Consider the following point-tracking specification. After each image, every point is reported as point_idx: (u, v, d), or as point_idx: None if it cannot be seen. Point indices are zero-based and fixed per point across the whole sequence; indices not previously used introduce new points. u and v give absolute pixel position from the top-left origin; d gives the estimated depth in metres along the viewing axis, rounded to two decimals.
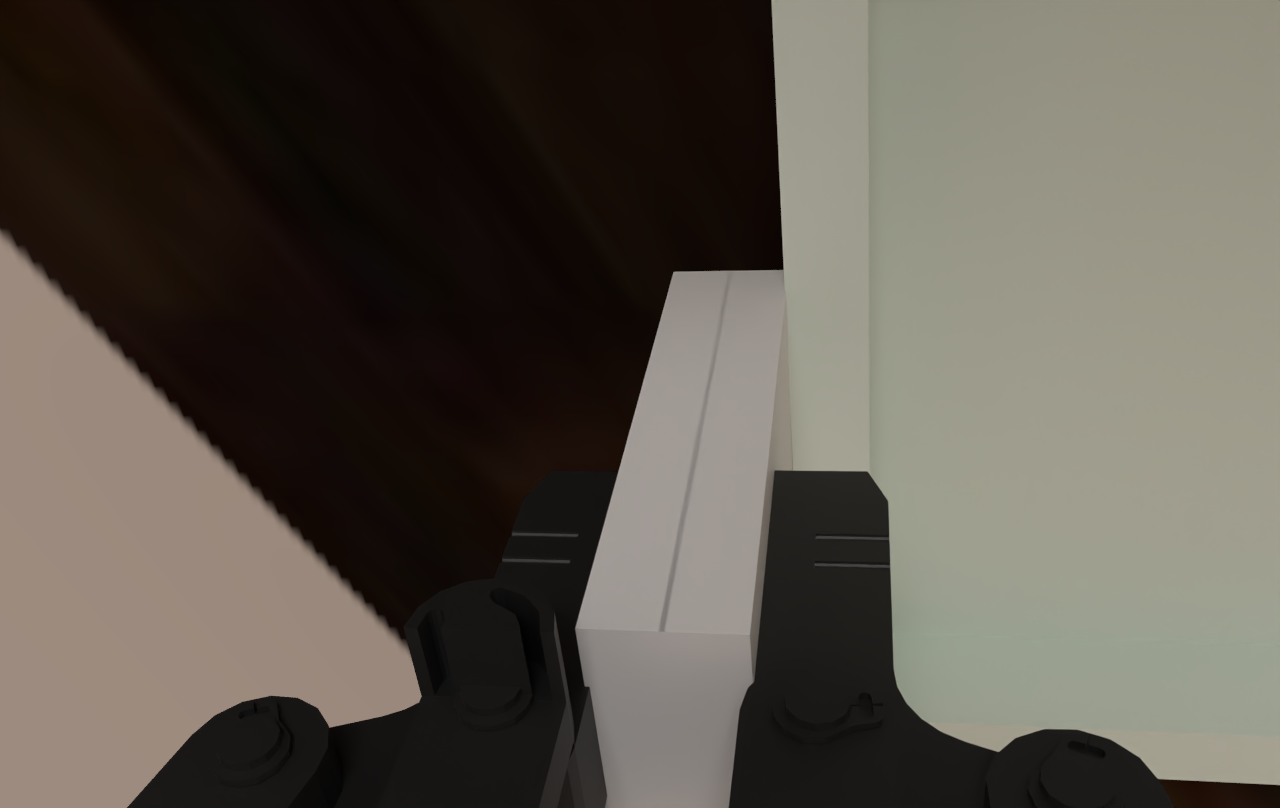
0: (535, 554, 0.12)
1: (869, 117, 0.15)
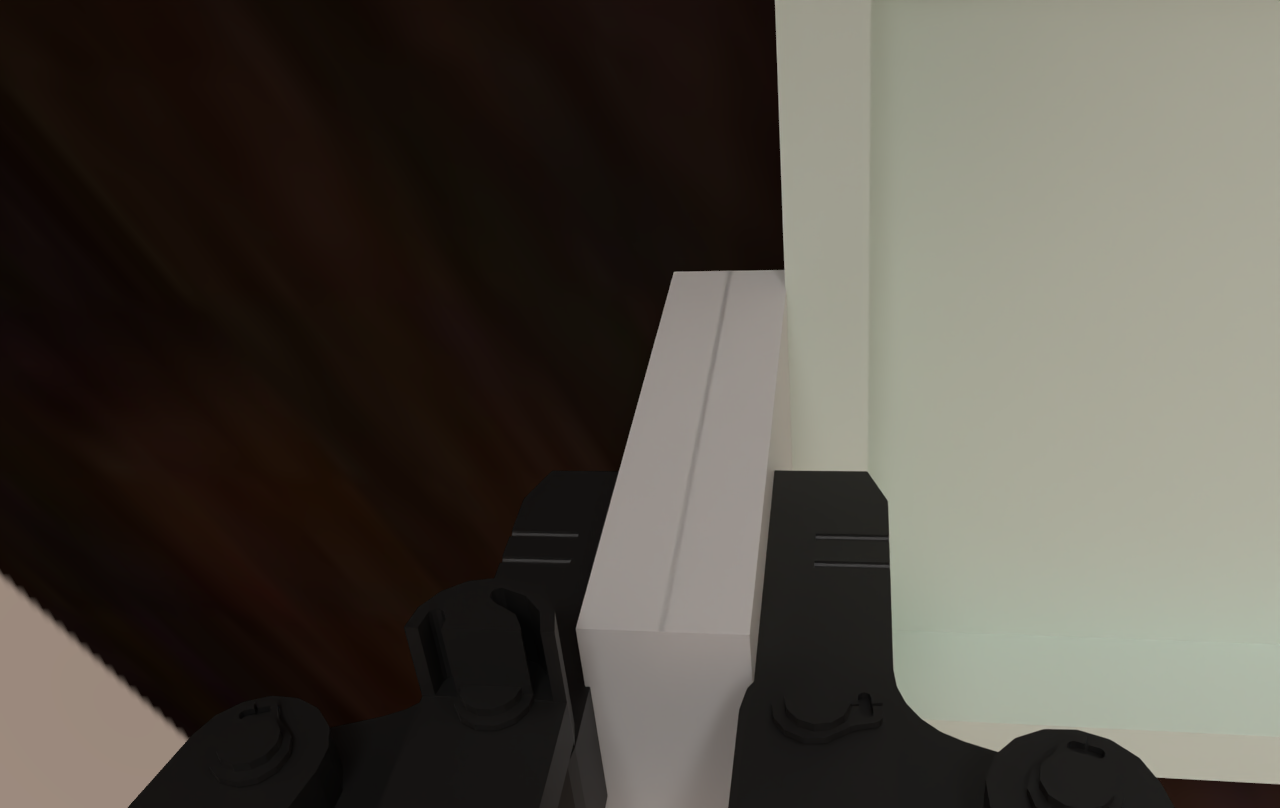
0: (536, 554, 0.12)
1: (870, 118, 0.16)
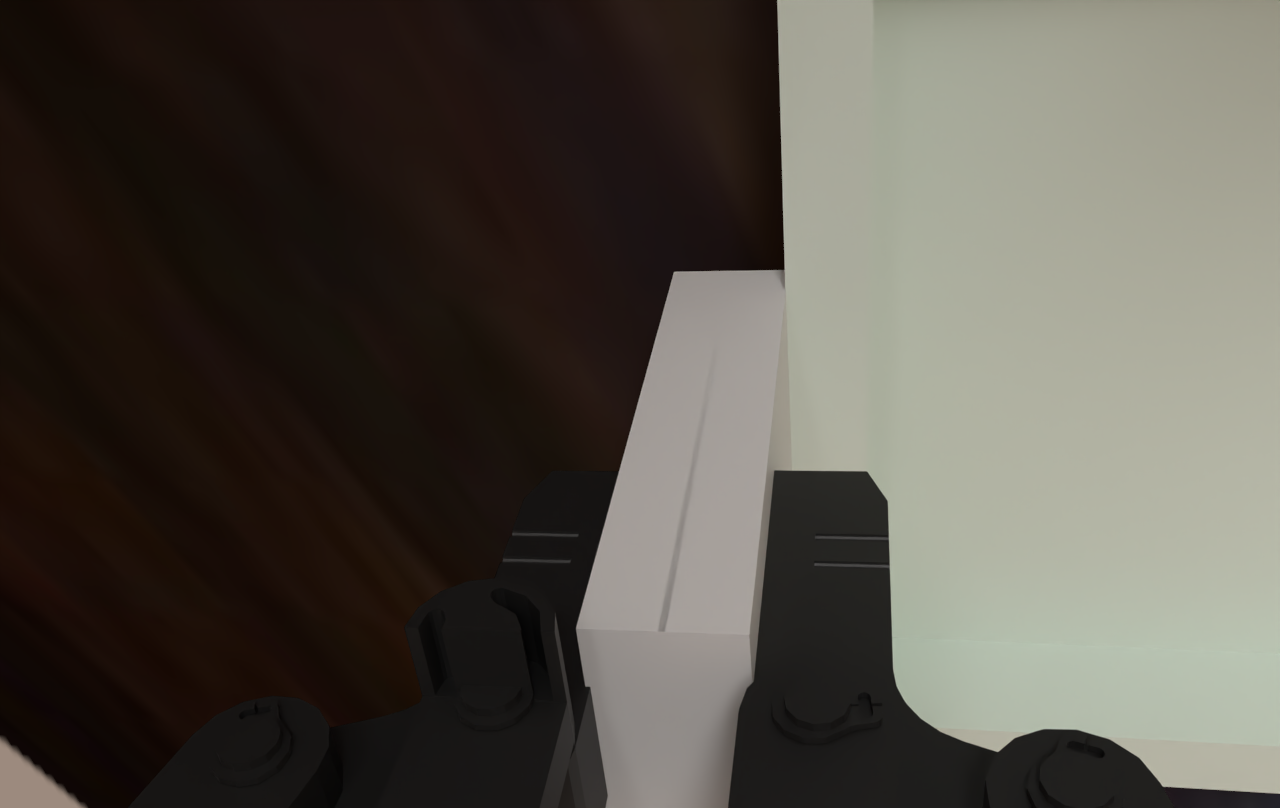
0: (536, 554, 0.12)
1: (871, 126, 0.16)
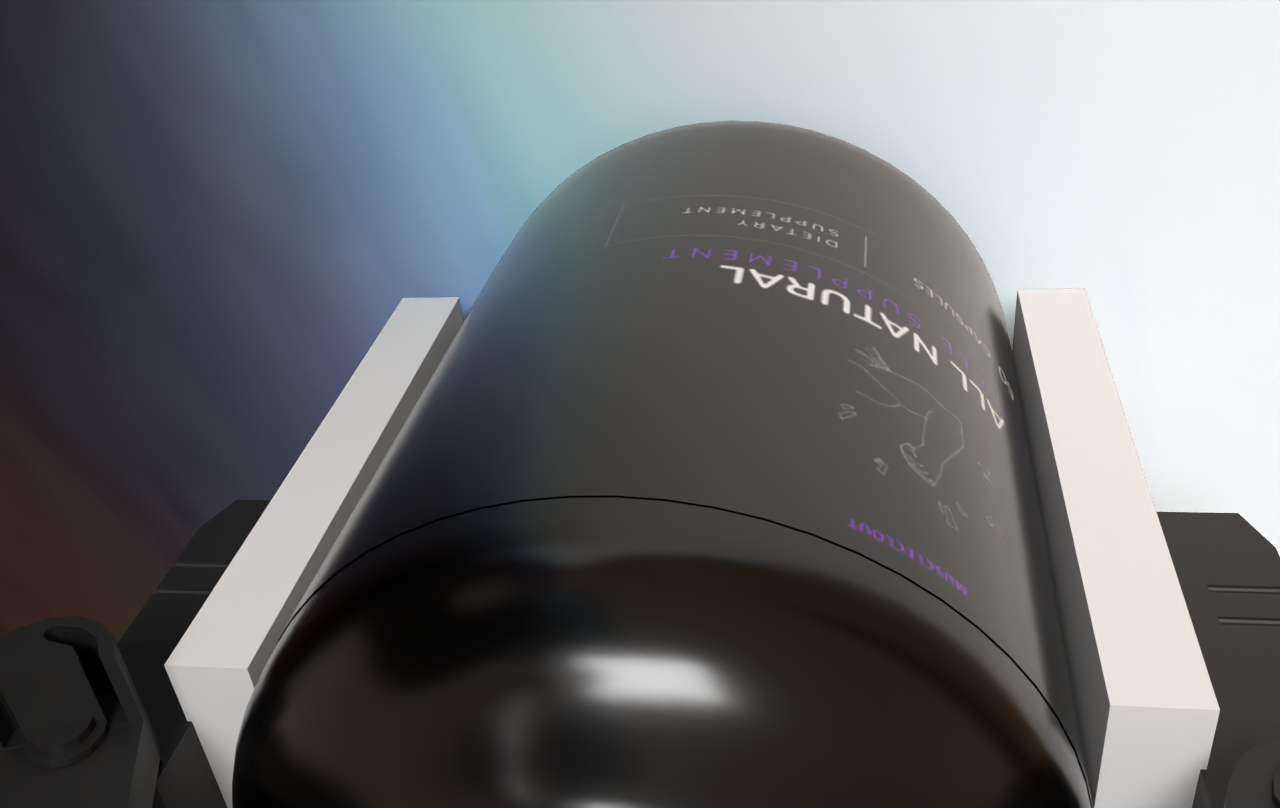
0: (190, 585, 0.12)
1: None
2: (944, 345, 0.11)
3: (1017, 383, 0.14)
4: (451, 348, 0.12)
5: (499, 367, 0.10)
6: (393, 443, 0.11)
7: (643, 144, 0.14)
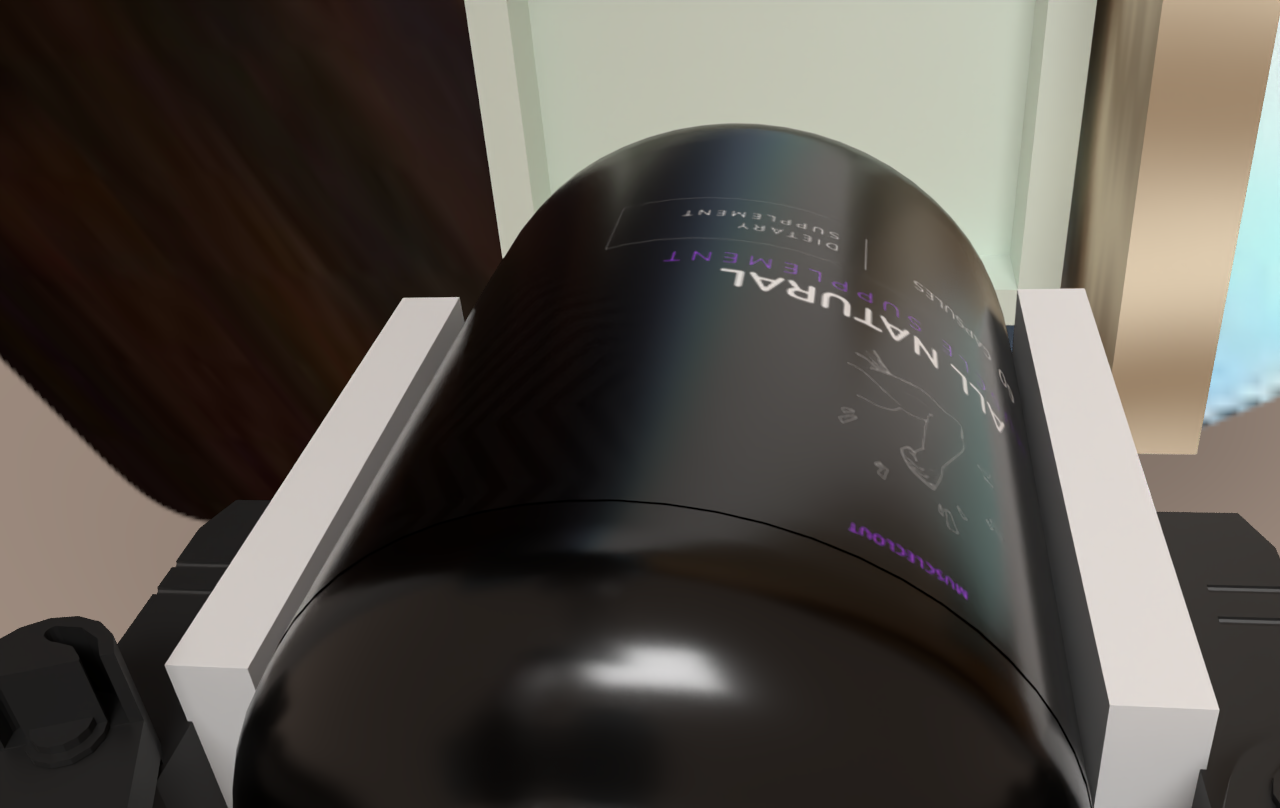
0: (190, 585, 0.12)
1: None
2: (944, 347, 0.11)
3: (1017, 386, 0.14)
4: (451, 351, 0.12)
5: (499, 369, 0.10)
6: (393, 446, 0.11)
7: (643, 147, 0.14)
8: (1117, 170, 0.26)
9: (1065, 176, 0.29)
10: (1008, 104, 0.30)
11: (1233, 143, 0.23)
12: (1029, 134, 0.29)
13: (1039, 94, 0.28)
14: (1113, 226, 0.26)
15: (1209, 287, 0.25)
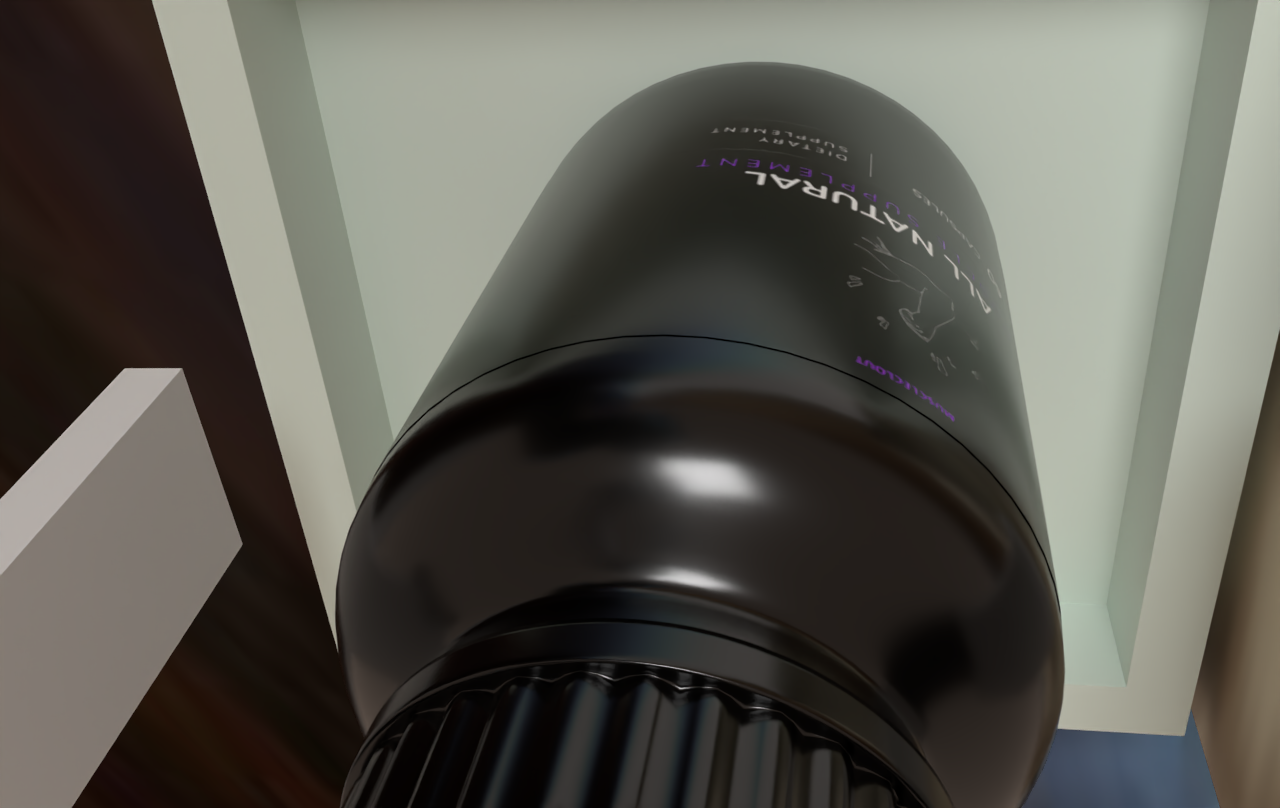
0: None
1: (323, 116, 0.18)
2: (939, 242, 0.13)
3: (1005, 290, 0.15)
4: (508, 252, 0.14)
5: (557, 254, 0.12)
6: (462, 327, 0.13)
7: (673, 82, 0.16)
8: None
9: (1214, 539, 0.17)
10: (1113, 401, 0.19)
11: None
12: (1152, 464, 0.18)
13: (1178, 422, 0.16)
14: None
15: None
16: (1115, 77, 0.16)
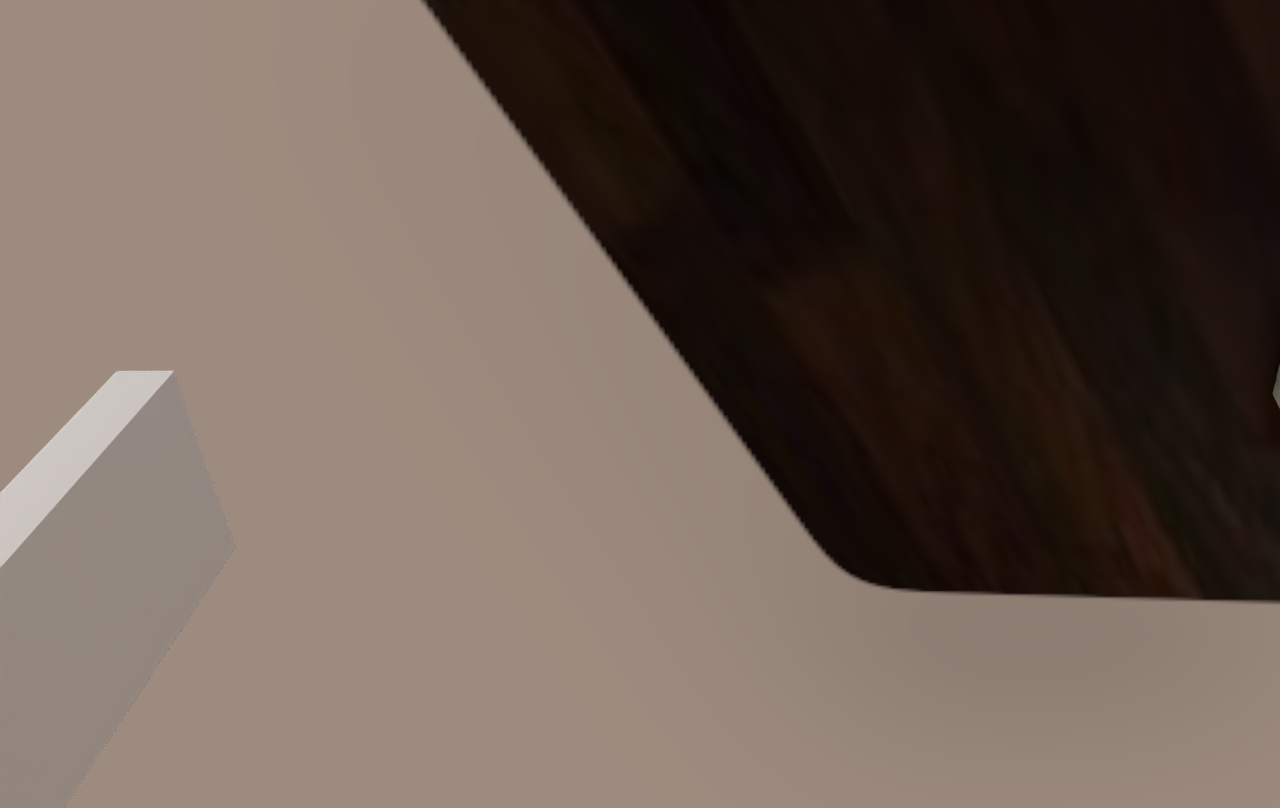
0: None
1: None
2: None
3: None
4: None
5: None
6: None
7: None
8: None
9: None
10: None
11: None
12: None
13: None
14: None
15: None
16: None
